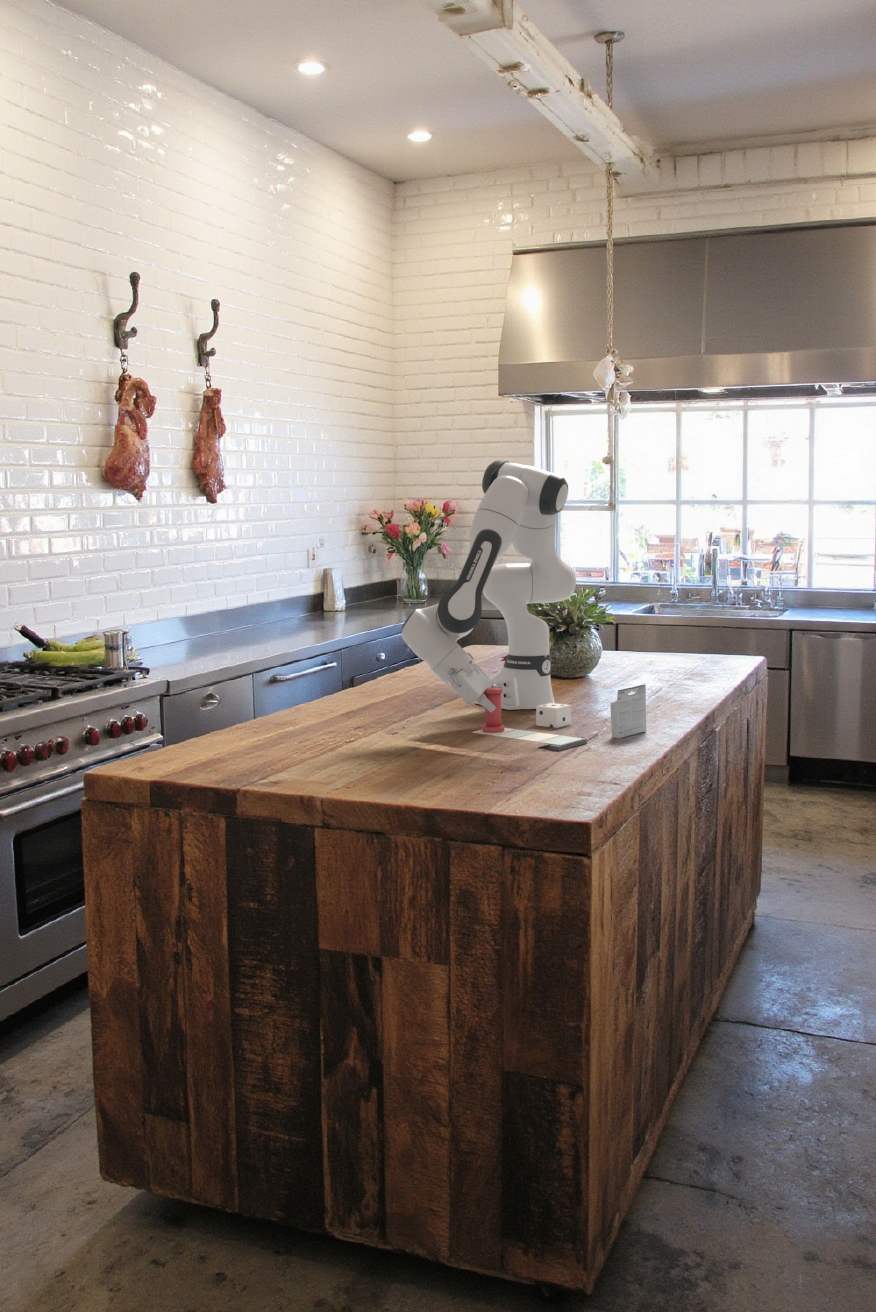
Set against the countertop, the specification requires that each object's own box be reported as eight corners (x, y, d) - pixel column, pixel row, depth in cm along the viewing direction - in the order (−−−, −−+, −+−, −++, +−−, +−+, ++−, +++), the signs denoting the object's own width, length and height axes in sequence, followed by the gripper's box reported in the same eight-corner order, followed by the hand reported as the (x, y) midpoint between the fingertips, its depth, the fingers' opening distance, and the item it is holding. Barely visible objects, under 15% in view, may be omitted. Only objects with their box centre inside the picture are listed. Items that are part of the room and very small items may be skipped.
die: (536, 730, 281) (536, 705, 280) (550, 726, 285) (550, 702, 285) (556, 733, 277) (556, 708, 276) (571, 729, 281) (571, 704, 281)
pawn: (477, 731, 274) (477, 689, 273) (491, 727, 278) (491, 686, 277) (495, 733, 271) (494, 691, 269) (508, 730, 275) (508, 688, 273)
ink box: (638, 731, 278) (639, 683, 277) (646, 732, 276) (647, 684, 275) (609, 737, 270) (609, 688, 269) (617, 739, 268) (617, 689, 267)
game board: (468, 737, 272) (468, 732, 272) (497, 730, 281) (497, 725, 281) (558, 751, 255) (558, 745, 255) (586, 743, 264) (586, 738, 264)
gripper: (455, 663, 263) (498, 706, 263) (470, 652, 283) (510, 692, 283) (436, 682, 265) (479, 725, 264) (453, 670, 285) (492, 710, 284)
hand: (495, 708), depth 274 cm, fingers closed on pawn, 4 cm apart
